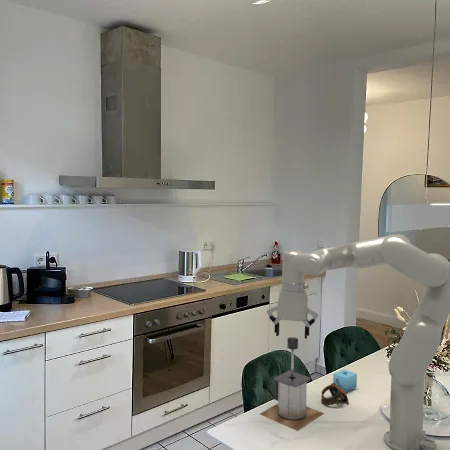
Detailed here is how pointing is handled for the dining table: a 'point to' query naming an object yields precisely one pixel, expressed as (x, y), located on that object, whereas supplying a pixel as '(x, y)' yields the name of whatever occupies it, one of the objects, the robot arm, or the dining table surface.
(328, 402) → the brown curved piece
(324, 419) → the dining table surface
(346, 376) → the blue square teapot
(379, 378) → the dining table surface
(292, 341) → the plunger
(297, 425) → the walnut board
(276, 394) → the press carafe
